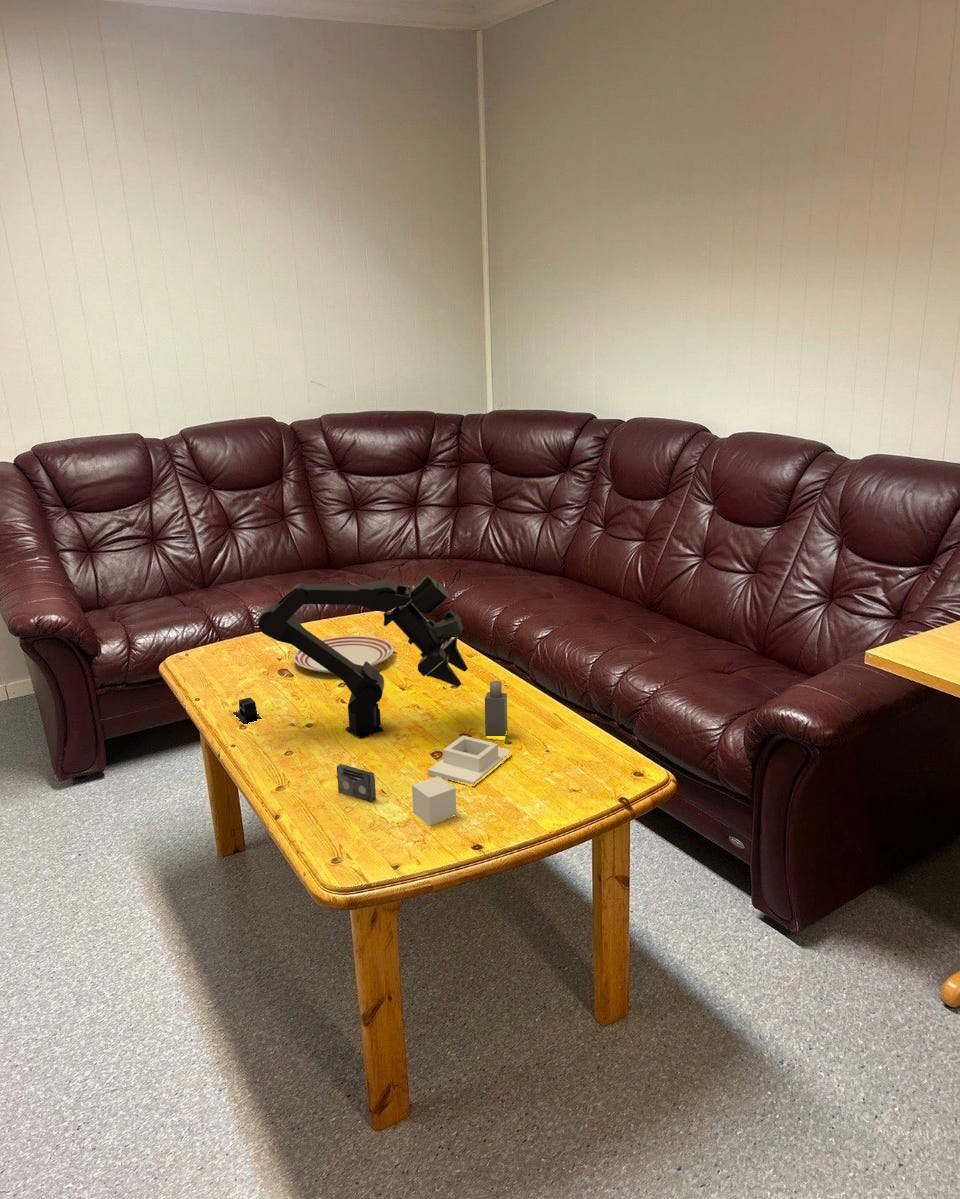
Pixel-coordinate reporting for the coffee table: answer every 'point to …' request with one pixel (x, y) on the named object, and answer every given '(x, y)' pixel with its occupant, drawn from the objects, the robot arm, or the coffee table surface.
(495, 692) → the plug
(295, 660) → the dinner plate
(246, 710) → the black boxy piece
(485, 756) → the socket board
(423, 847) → the coffee table surface
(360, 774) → the mini dv tape
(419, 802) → the gray cube
